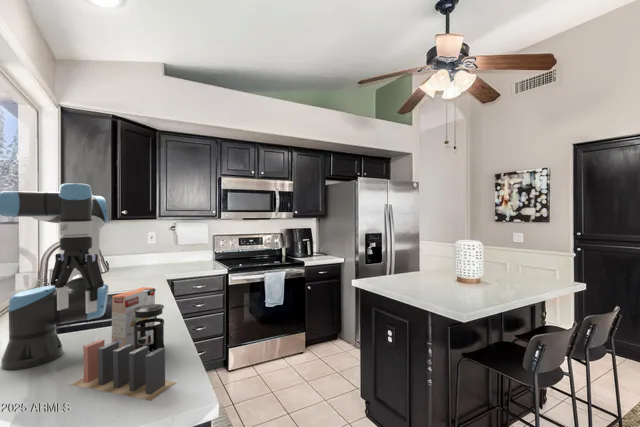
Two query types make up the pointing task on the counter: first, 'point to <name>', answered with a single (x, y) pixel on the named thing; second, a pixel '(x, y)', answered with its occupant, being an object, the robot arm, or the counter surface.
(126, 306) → the cracker box
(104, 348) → the domino
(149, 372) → the domino
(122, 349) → the domino
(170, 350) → the counter surface
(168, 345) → the counter surface
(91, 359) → the loose domino
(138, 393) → the oak board
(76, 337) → the counter surface
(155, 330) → the french press
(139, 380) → the domino
